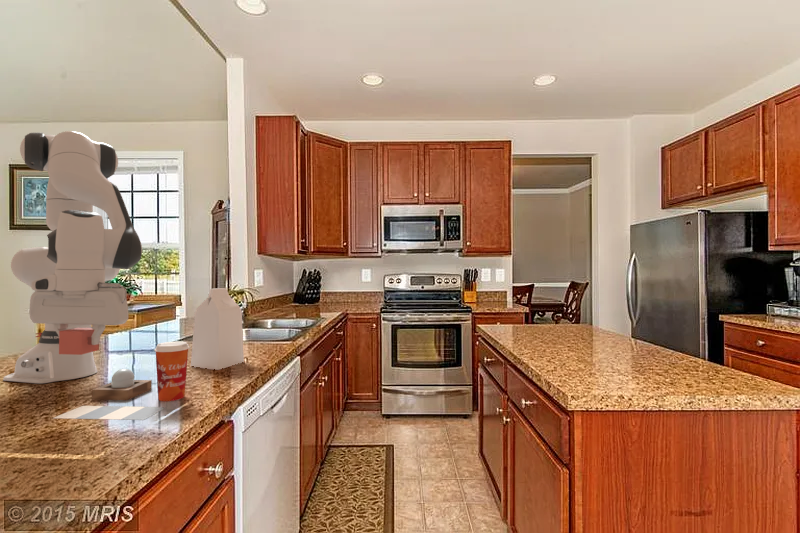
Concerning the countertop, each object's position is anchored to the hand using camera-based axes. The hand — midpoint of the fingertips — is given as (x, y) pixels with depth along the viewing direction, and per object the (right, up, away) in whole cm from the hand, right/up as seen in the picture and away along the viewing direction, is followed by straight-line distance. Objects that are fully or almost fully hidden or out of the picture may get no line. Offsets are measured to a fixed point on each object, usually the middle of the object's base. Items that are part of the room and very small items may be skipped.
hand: (79, 344), depth 91 cm
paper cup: (+15, -16, +10) cm, 24 cm away
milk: (+9, -16, +48) cm, 52 cm away
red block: (0, -2, 0) cm, 2 cm away
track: (+8, -16, -1) cm, 17 cm away
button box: (+1, -16, +13) cm, 20 cm away
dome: (+1, -15, +13) cm, 20 cm away
